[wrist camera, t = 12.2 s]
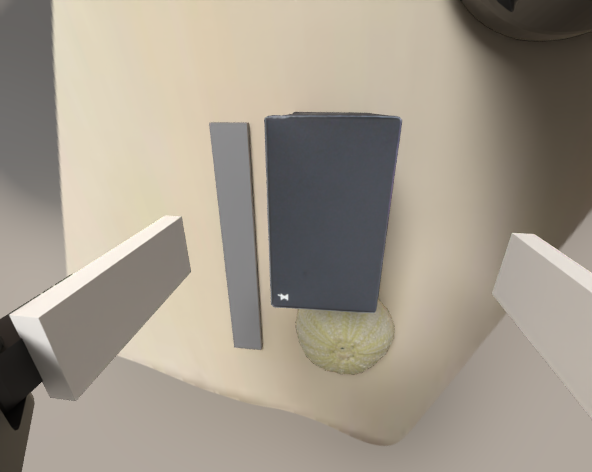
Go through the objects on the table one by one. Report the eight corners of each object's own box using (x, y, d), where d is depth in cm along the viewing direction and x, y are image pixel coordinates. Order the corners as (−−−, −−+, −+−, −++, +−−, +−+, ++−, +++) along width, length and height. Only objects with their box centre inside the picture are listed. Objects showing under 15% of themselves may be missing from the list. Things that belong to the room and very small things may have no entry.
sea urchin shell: (287, 360, 30) (287, 366, 23) (302, 285, 33) (306, 268, 25) (374, 380, 30) (404, 392, 22) (382, 303, 33) (411, 291, 25)
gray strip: (248, 122, 23) (246, 122, 22) (262, 346, 32) (261, 349, 32) (211, 122, 23) (209, 122, 23) (235, 343, 33) (234, 347, 32)
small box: (364, 241, 26) (381, 320, 16) (290, 237, 27) (266, 311, 17) (377, 111, 22) (411, 115, 12) (289, 111, 22) (256, 115, 13)
